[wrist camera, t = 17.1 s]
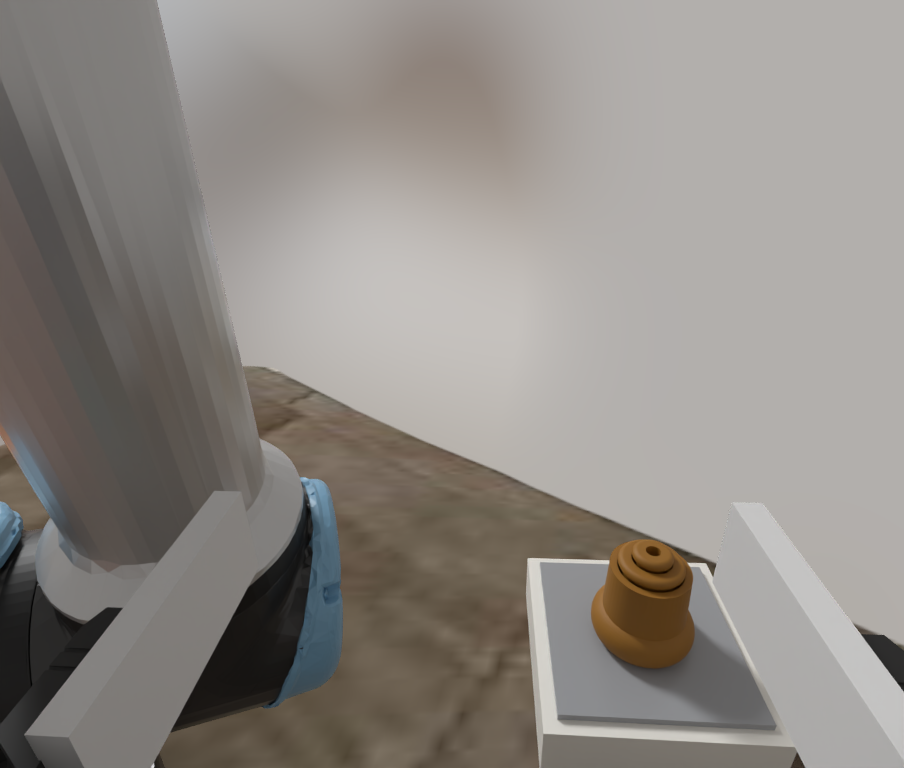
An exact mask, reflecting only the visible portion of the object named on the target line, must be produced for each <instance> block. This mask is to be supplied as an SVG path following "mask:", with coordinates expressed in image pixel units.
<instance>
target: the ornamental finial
mask: <svg viewBox="0 0 904 768" xmlns="http://www.w3.org/2000/svg"><path fill="white" fill-rule="evenodd" d="M692 584H693V573H692V570H691V568H690V566H689V565H688V563H687V562H686V561H685V560H684V559H683V558H682V557H681V556H680V555H679V554H678V553H676V552H675V551H674V550H673V549H671V548H670V547H668V546H666V545H664V544H662V543H660V542H658V541H654V540H634V541H630V542H626V543H623V544H621V545H619V546H618V547H616V548H615V549H614V551H613V552H612V554H611V556H610V561H609V566H608V571H607V577H606V582H605V585H603V586H602V587H601V588H600V589H599V590H598V592H597V593H596V595H595V597H594V599H593V601H592V606H591V619H592V624H593V627H594V630H595V632H596V634H597V636H598V637H599V639H600V640H601V642H602V643H603V644H604V645H605V647H606V648H607V649H608V650H609V651H611V652H612V653H613V654H614V655H616V656H617V657H619V658H620V659H622V660H624V661H626V662H628V663H630V664H632V665H635V666H639V667H643V668H652V669H658V668H665V667H669V666H672V665H674V664H676V663H678V662H680V661H681V660H682V659H683V658H684V657H685V656H686V655H687V654H688V653H689V651H690V650H691V648H692V645H693V642H694V637H695V628H694V622H693V619H692V616H691V614H690V612H689V610H688V608H689V602H690V596H691V590H692Z"/></svg>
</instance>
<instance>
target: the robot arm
mask: <svg viewBox="0 0 904 768" xmlns="http://www.w3.org/2000/svg"><path fill="white" fill-rule="evenodd" d="M0 436H1V437H2V439H3V441H4V442H5V444H6V445H7V447H8V449H9V450H10V452H11V454H12V455H13V457H14V459H15V460H16V462H17V463H18V465H19V467H20V468H21V470H22V472H23V473H24V475H25V477H26V478H27V480H28V481H29V483H30V485H31V486H32V488H33V490H34V491H35V493H36V494H37V496H38V498H39V499H40V501H41V503H42V504H43V506H44V508H45V509H46V511H47V512H48V514H49V516H50V519H49V520H48V522H47V524H46V525H45V527H44V529H39V530H32V531H26V530H23V520H22V518H21V517H20V515H19V513H17V512H15V511H12V510H11V509H10V507H9V506H8V505H7V504H5V503H4V502H0V768H164V765H163V762H162V759H161V757H160V754H159V752H160V750H161V748H162V746H163V744H164V743H165V741H166V739H167V737H168V735H169V733H170V732H174V731H177V730H181V729H184V728H188V727H191V726H195V725H198V724H202V723H205V722H209V721H212V720H216V719H219V718H223V717H226V716H230V715H233V714H237V713H240V712H244V711H247V710H251V709H254V708H257V707H261V706H262V707H263V708H273V707H276V706H278V705H279V704H280V703H282V702H283V701H284V700H285V699H287V698H290V697H293V696H296V695H298V694H301V693H304V692H307V691H310V690H313V689H316V688H318V687H320V686H321V685H323V684H324V683H326V682H327V681H328V680H329V679H330V678H331V676H332V675H333V674H334V672H335V670H336V668H337V666H338V663H339V660H340V655H341V648H342V634H343V607H342V595H341V590H340V584H341V579H340V574H341V564H340V552H339V542H338V533H337V525H336V518H335V512H334V507H333V502H332V497H331V494H330V491H329V488H328V486H327V485H326V484H325V483H324V482H323V481H321V480H319V479H308V478H305V477H303V478H301V477H299V475H298V473H297V470H296V468H295V466H294V465H293V463H292V461H291V460H290V459H289V458H288V457H287V456H286V455H285V454H284V453H283V452H282V451H280V450H279V449H278V448H276V447H275V446H273V445H271V444H270V443H268V442H266V441H263V440H261V439H259V435H258V431H257V427H256V423H255V418H254V414H253V410H252V405H251V401H250V397H249V393H248V388H247V384H246V380H245V376H244V371H243V367H242V363H241V358H240V354H239V350H238V346H237V342H236V337H235V333H234V329H233V324H232V320H231V316H230V312H229V307H228V303H227V299H226V294H225V290H224V286H223V282H222V278H221V273H220V269H219V264H218V260H217V256H216V252H215V248H214V243H213V239H212V235H211V230H210V226H209V222H208V218H207V213H206V209H205V205H204V200H203V196H202V192H201V188H200V183H199V179H198V175H197V171H196V167H195V162H194V158H193V153H192V149H191V145H190V141H189V136H188V132H187V128H186V124H185V119H184V115H183V111H182V106H181V103H180V98H179V94H178V90H177V85H176V81H175V77H174V72H173V68H172V64H171V60H170V56H169V51H168V47H167V42H166V38H165V34H164V30H163V25H162V21H161V17H160V13H159V8H158V4H157V0H0ZM712 582H713V584H714V586H715V588H716V590H717V592H718V594H719V596H720V598H721V600H722V602H723V604H724V606H725V608H726V610H727V612H728V614H729V616H730V618H731V620H732V622H733V624H734V626H735V628H736V630H737V632H738V634H739V636H740V638H741V640H742V642H743V644H744V646H745V648H746V650H747V652H748V654H749V656H750V658H751V660H752V662H753V664H754V666H755V668H756V670H757V672H758V674H759V676H760V678H761V680H762V682H763V684H764V686H765V688H766V690H767V692H768V694H769V696H770V698H771V700H772V702H773V704H774V706H775V708H776V710H777V712H778V714H779V716H780V718H781V720H782V722H783V724H784V726H785V728H786V730H787V732H788V734H789V736H790V738H791V740H792V742H793V744H794V746H795V748H796V750H797V752H798V754H799V756H800V758H801V760H802V762H803V764H804V766H805V768H904V651H903V650H902V649H901V648H900V647H898V646H897V645H896V644H894V643H893V642H892V641H891V640H889V639H888V638H887V637H886V636H884V635H865V634H860V633H859V631H858V630H857V629H856V627H855V626H854V625H853V623H852V622H851V621H850V619H849V618H848V617H847V615H846V614H845V613H844V611H843V610H842V609H841V608H840V606H839V605H838V603H837V602H836V601H835V599H834V598H833V597H832V595H831V594H830V593H829V591H828V590H827V589H826V587H825V586H824V585H823V583H822V582H821V581H820V579H819V578H818V577H817V575H816V574H815V573H814V571H813V570H812V569H811V567H810V566H809V565H808V563H807V562H806V560H805V559H804V558H803V557H802V555H801V554H800V552H799V551H798V550H797V548H796V547H795V546H794V544H793V543H792V542H791V540H790V539H789V538H788V537H787V535H786V534H785V532H784V531H783V530H782V528H781V527H780V526H779V525H778V523H777V522H776V520H775V519H774V518H773V516H772V515H771V514H770V512H769V511H768V510H767V508H766V507H765V506H764V504H763V503H740V502H732V504H731V508H730V512H729V516H728V521H727V525H726V528H725V532H724V536H723V541H722V545H721V549H720V553H719V557H718V561H717V565H716V569H715V573H714V577H713V581H712Z"/></svg>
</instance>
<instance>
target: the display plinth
mask: <svg viewBox="0 0 904 768" xmlns="http://www.w3.org/2000/svg"><path fill="white" fill-rule="evenodd" d="M688 565H689V566H690V568H691V570H692V573H693V584H692V590H691V596H690V602H689V608H688V610H689V612H690V614H691V616H692V619H693V622H694V628H695V637H694V642H693V645H692V648H691V650H690V651H689V653H688V654H687V655H686V656H685V657H684V658H683V659H682V660H681V661H680V662H678V663H676V664H674V665H672V666H669V667H665V668H658V669H652V668H643V667H639V666H635V665H632V664H630V663H628V662H626V661H624V660H622V659H620V658H619V657H617V656H616V655H614V654H613V653H612V652H611V651H609V650H608V649H607V648H606V647H605V645H604V644H603V643H602V642H601V640H600V639H599V637H598V636H597V634H596V632H595V630H594V627H593V624H592V619H591V606H592V601H593V599H594V597H595V595H596V593H597V592H598V590H599V589H600V588H601V587H602V586H603V585H605V582H606V577H607V571H608V566H609V561H607V560H574V559H541V558H528V565H527V585H526V600H527V612H528V625H529V638H530V651H531V664H532V677H533V690H534V702H535V715H536V728H537V741H538V754H539V767H540V768H791V766H792V763H793V761H794V758H795V756H796V753H797V750H796V748H795V746H794V744H793V742H792V740H791V738H790V736H789V734H788V732H787V730H786V728H785V726H784V724H783V722H782V720H781V718H780V716H779V714H778V712H777V710H776V708H775V706H774V704H773V702H772V700H771V698H770V696H769V694H768V692H767V690H766V688H765V686H764V684H763V682H762V680H761V678H760V676H759V674H758V672H757V670H756V668H755V666H754V664H753V662H752V660H751V658H750V656H749V654H748V652H747V650H746V648H745V646H744V644H743V642H742V640H741V638H740V636H739V634H738V632H737V630H736V628H735V626H734V624H733V622H732V620H731V618H730V616H729V614H728V612H727V610H726V608H725V606H724V604H723V602H722V600H721V598H720V596H719V594H718V592H717V590H716V588H715V586H714V584H713V582H712V581H713V577H712V575H711V573H710V571H709V569H708V567H707V565H706V564H705V563H688Z"/></svg>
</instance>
